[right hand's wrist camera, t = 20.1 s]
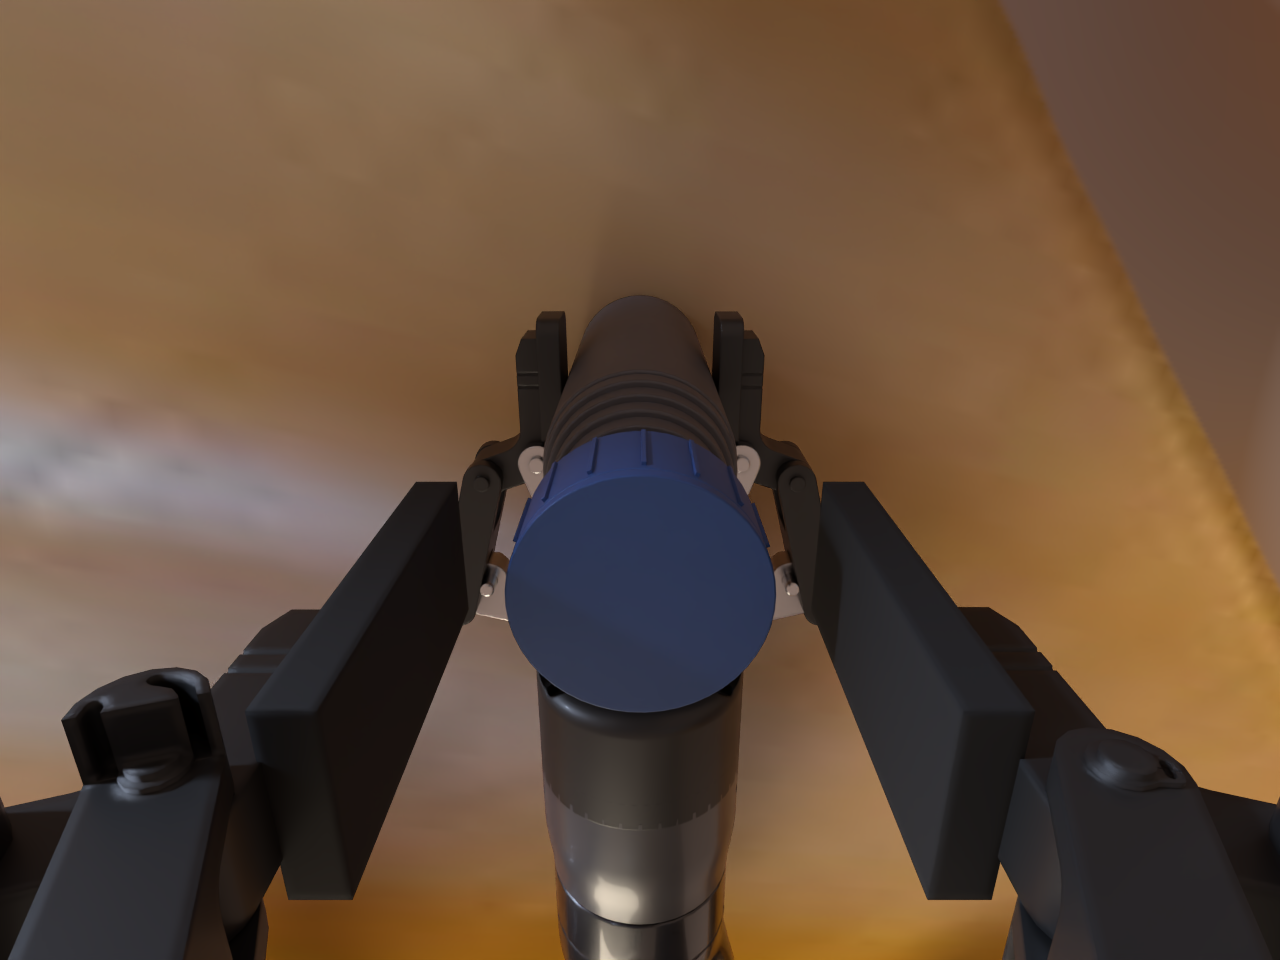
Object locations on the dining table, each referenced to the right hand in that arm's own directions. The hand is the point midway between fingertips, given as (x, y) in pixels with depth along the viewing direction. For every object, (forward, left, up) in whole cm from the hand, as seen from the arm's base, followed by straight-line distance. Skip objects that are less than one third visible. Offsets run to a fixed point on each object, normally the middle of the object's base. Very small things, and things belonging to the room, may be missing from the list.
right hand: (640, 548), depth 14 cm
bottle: (0, 0, -17) cm, 17 cm away
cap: (0, 0, +2) cm, 2 cm away
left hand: (-3, -1, -10) cm, 11 cm away
